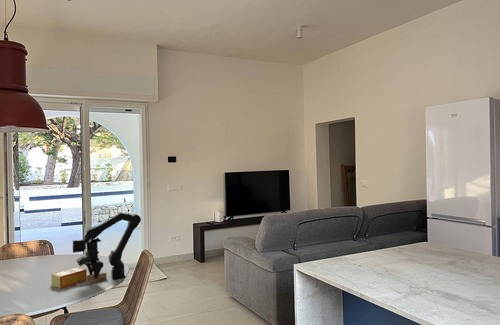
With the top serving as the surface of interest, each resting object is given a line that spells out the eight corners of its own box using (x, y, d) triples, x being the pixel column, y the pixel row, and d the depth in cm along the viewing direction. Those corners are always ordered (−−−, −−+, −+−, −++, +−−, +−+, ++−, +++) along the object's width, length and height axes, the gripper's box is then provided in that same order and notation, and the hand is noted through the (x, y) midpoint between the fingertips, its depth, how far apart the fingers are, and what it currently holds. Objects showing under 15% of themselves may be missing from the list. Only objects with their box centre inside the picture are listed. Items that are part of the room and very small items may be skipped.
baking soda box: (51, 274, 209) (78, 266, 223) (51, 285, 210) (78, 277, 223) (59, 276, 204) (87, 269, 217) (60, 288, 204) (87, 280, 217)
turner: (103, 277, 221) (103, 271, 221) (107, 280, 216) (107, 273, 216) (75, 284, 210) (75, 277, 210) (78, 286, 206) (78, 279, 206)
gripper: (72, 249, 216) (74, 276, 216) (82, 256, 201) (83, 284, 202) (92, 246, 223) (93, 272, 223) (103, 252, 209) (104, 279, 209)
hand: (93, 276), depth 214 cm, fingers open, 9 cm apart
